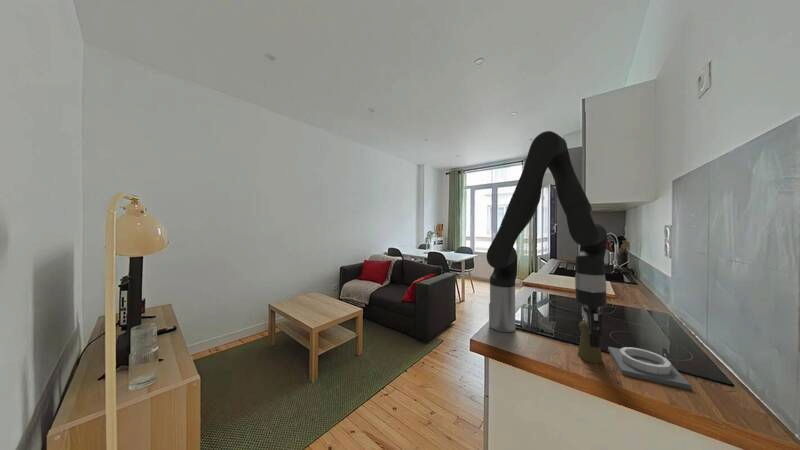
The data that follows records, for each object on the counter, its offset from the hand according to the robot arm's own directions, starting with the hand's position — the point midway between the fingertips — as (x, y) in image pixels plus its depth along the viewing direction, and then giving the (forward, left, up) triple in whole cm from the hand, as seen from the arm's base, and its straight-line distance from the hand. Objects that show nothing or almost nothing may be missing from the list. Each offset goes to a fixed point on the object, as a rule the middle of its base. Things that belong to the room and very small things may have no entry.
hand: (591, 340), depth 74 cm
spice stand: (+12, +1, -5) cm, 13 cm away
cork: (0, 0, -6) cm, 6 cm away
